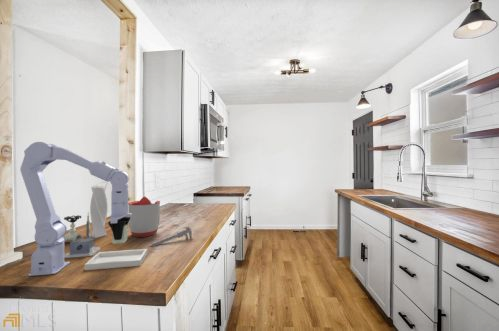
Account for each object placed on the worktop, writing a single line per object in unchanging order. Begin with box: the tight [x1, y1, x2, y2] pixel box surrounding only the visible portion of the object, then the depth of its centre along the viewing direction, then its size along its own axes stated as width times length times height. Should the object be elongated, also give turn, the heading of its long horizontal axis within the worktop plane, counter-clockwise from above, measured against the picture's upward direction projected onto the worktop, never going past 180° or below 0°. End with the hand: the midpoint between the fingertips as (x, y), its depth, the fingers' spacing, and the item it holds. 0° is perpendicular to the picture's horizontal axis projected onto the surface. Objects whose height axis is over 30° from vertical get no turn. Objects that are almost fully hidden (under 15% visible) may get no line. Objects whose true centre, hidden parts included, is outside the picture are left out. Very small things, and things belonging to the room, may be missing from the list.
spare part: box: [112, 224, 128, 245], centre depth 91 cm, size 4×4×6 cm
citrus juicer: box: [128, 196, 161, 238], centre depth 127 cm, size 16×17×20 cm
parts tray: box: [84, 248, 148, 271], centre depth 90 cm, size 12×18×2 cm, turn 102°
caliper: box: [148, 225, 193, 248], centre depth 113 cm, size 20×1×6 cm, turn 130°
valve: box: [63, 215, 83, 243], centre depth 113 cm, size 7×7×12 cm
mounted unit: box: [64, 238, 102, 259], centre depth 98 cm, size 8×10×6 cm
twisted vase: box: [85, 181, 108, 239], centre depth 123 cm, size 8×8×28 cm
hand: (119, 237), depth 91 cm, fingers closed on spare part, 4 cm apart
